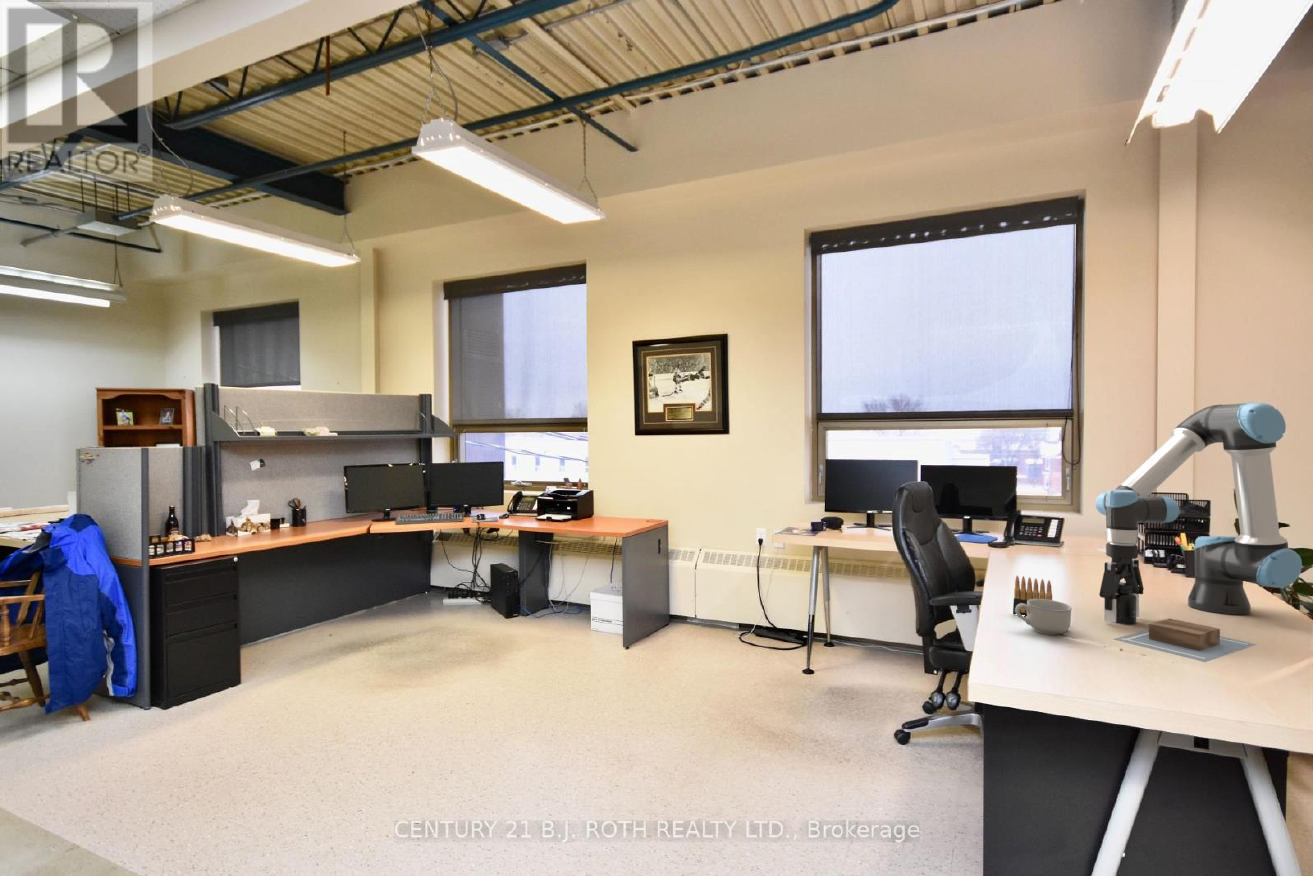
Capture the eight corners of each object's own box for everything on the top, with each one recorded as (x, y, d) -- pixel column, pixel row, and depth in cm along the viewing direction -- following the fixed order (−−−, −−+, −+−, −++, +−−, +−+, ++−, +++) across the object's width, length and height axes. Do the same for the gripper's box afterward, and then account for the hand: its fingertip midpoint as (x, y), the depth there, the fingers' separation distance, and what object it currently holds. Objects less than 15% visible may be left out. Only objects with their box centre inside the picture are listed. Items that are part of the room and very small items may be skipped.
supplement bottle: (1141, 629, 186) (1141, 586, 186) (1114, 627, 187) (1114, 585, 187) (1129, 622, 192) (1129, 581, 192) (1103, 621, 194) (1103, 580, 194)
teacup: (1065, 628, 186) (1065, 600, 186) (1076, 639, 175) (1076, 609, 175) (1010, 624, 190) (1010, 596, 190) (1018, 634, 180) (1018, 605, 180)
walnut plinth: (1169, 633, 178) (1169, 618, 178) (1219, 644, 168) (1219, 628, 168) (1148, 639, 173) (1148, 623, 173) (1199, 650, 163) (1199, 634, 163)
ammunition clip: (1012, 614, 201) (1012, 575, 201) (1015, 613, 202) (1015, 574, 202) (1051, 622, 193) (1051, 581, 193) (1053, 620, 194) (1053, 580, 194)
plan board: (1166, 628, 186) (1166, 624, 186) (1256, 648, 168) (1256, 643, 168) (1112, 643, 172) (1112, 638, 172) (1205, 666, 155) (1205, 661, 155)
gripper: (1129, 538, 199) (1129, 610, 199) (1084, 544, 187) (1084, 620, 187) (1157, 542, 192) (1157, 616, 192) (1113, 548, 181) (1113, 627, 181)
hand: (1121, 618), depth 190 cm, fingers open, 12 cm apart
